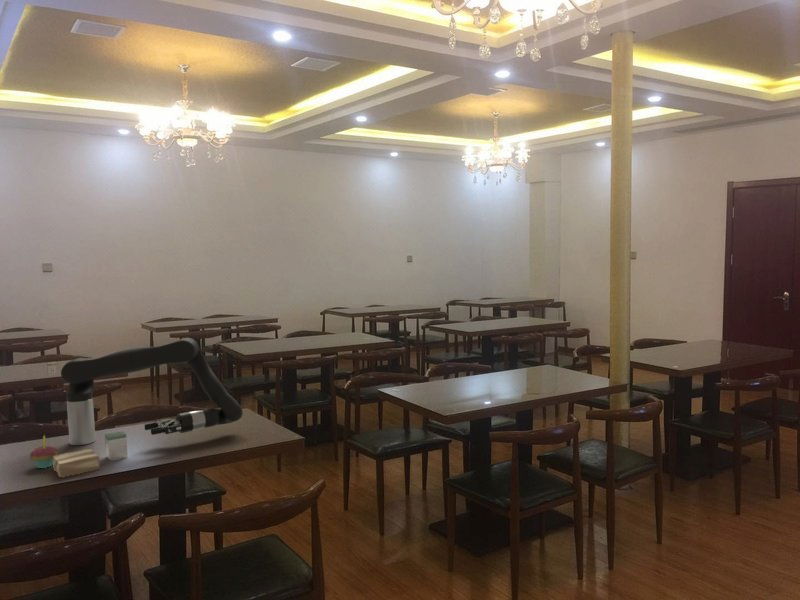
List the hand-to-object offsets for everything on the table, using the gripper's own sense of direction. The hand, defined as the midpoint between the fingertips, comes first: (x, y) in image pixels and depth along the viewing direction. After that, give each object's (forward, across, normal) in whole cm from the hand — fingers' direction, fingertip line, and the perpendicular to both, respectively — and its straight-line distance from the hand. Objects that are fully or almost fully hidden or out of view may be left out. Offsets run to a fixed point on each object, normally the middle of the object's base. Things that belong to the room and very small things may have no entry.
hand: (147, 429), depth 241 cm
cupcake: (+34, -6, +8) cm, 35 cm away
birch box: (+26, +4, +8) cm, 27 cm away
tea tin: (+12, 0, +8) cm, 14 cm away
